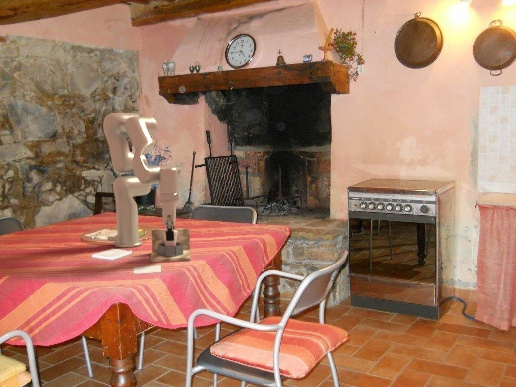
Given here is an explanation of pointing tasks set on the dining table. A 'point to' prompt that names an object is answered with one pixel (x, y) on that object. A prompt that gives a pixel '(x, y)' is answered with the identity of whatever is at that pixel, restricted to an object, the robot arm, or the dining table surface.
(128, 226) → the robot arm
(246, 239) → the dining table surface
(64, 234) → the dining table surface
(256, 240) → the dining table surface
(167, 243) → the smoothie
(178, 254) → the holder
